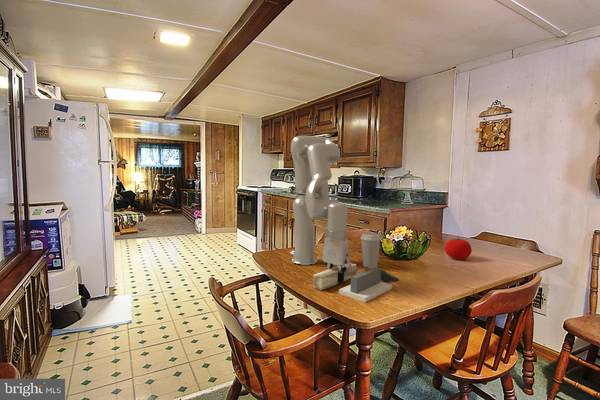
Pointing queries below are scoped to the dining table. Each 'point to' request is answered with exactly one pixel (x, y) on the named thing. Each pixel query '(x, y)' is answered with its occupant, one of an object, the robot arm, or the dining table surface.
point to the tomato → (458, 249)
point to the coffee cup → (370, 249)
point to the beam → (331, 277)
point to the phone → (387, 277)
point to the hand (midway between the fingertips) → (335, 279)
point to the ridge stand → (366, 285)
